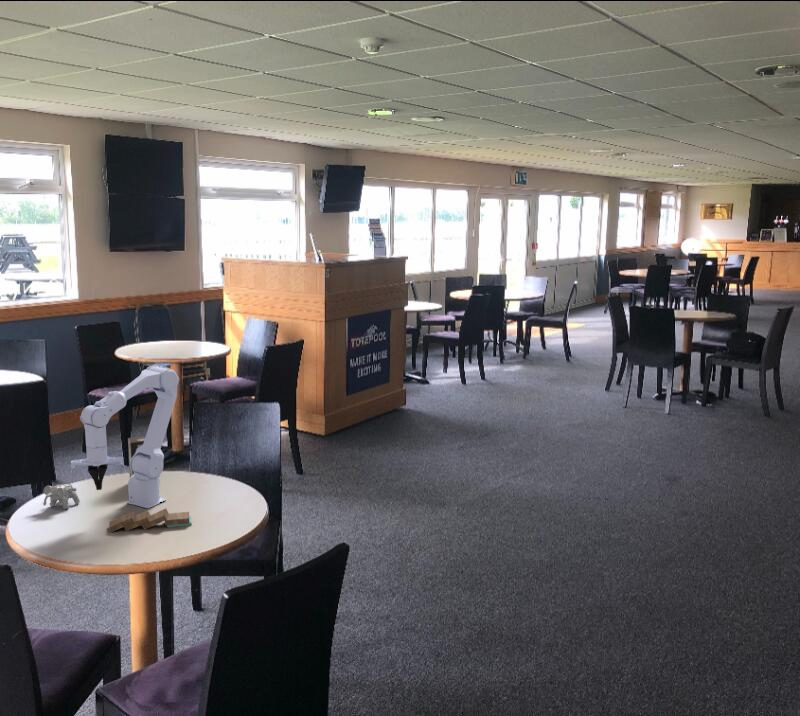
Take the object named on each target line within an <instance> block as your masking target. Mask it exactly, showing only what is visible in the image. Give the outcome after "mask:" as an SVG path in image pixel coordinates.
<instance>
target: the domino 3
mask: <svg viewBox="0 0 800 716" xmlns="http://www.w3.org/2000/svg"><path fill="white" fill-rule="evenodd" d="M168 514H169V511H168V509H167V508H163V509H161V510H159V511H157V512H155V513H153V514H150V519H149V522H147V523H145V524H142V525H141V526H142V528H143V529H144V530H147V529H149V528H152V527H154V526H156V525H158V524H161V523H163V522H165V520H167V516H168Z"/></svg>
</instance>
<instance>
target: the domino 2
mask: <svg viewBox="0 0 800 716" xmlns="http://www.w3.org/2000/svg"><path fill="white" fill-rule="evenodd" d="M150 515H151V514H150V512H149V510H145V511H144V512H143V511H142V512H141V513H138V514H136V515H135V519H134V522H133V523H131V524H129V525H126V526H124V527H123V528H124V530H125V532H128V531H130V530H133V529H134V528H138V527H140V526H142V524H145V523H147V522H149V519H150Z"/></svg>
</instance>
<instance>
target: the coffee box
mask: <svg viewBox="0 0 800 716" xmlns="http://www.w3.org/2000/svg"><path fill="white" fill-rule="evenodd" d="M145 437H146V435H145V436H135V437H128V438H127V442H128V466H129V467H128V468H129V469H128V470H129V471H128V472H129V478H130V477H131V476H132V475H134V472H133V471H132V470H131V469H130V460H131V458H132V457H133V456H134V454H135V452H136V449H137V448H139V447H140V446H142V445H143V444H144V441H145ZM148 456H150V455H148ZM150 457H151V456H150ZM160 482H161V481H159V485H160Z"/></svg>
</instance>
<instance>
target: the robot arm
mask: <svg viewBox="0 0 800 716" xmlns="http://www.w3.org/2000/svg"><path fill="white" fill-rule="evenodd" d="M179 382H180V377H179V375H178V374H177V372H176V371H175V370H174V369H172V368H164V367H158V366H156V365H150V366H148V367H147V368H146V369H143V370H142V371H141V373H140V374H139V376H137V377H136V378H135V379H133V380H132V381H131V382H129V384H127V385H126V386H124V387H123V389H121V390H119V391H117V390H113V391H112V390H111V391H109V392H107V395H105V396H104V397H103V398H102V399H99V401H98V400H97V401H95V403H94V405H92V404H91V405H87V406H86V407H84V408H83V410H82V411H81V414H80V416H79V419H80V421H81V423H82V424H83V426H84V427H83V428H84V435H85V446H86V448H85V449H86V458H82V459H75V460H73V459H72V460H71V462H70V469H73V470H74V469H76V468H77V469H78V468H87V472H88V474H89V475H90V477H91V479H92V480H93V482H94V485H95V490H96V491H102V489H103V482H104V477H105V474H106V472H107V469H108V466H116V465H119V466H123V465H124V463H125V462H124V456H108V443H107V429H106V428H107V424H108V423H109V421H110V419H111V417H113V415H115V414H116V413H118V412H119V411H120V410H122V409H124V408H125V407H126V405H127V401H128V400H130V399H131V398H133V397H134V396H136V395H138V394H140V393H141V392H143V391H145V390H147V388H149V389H152V390H153V391H154V393H155V394H156V397H157V400H156V403H155V407H154V409H153V413H152V415H151V419H150V423H149V425H148V428H147V431H146V435H145V436H146V437H145V441H144V444H143V445H142V446H140V447H139V448H137V449H136V452H135V454H134V456H133V457H132V458H131V460H130V469H131V470H132V471H133V472H134V475H132V476H131V477H130V476H129V480H128V482H127V488H128V489H127V490H128V500H127V501H126V504H130V505H133V506H137V507H142V508H145V509H151V508H152V507H155V506H157V505H160V504H161V503H160V502H162V503H164V502H166V501H167V499H166V498H164V497H161V493H160V492H161V491H160V484H159V482H160V477H161V475H162V473H163V471H164V459H165V455H164V453H163V451H162V449H161V448H162V445H163V442H164V439H165V436H166V433H167V430H168V426H169V423H170V420H171V416H172V414H173V410H174V406H175V403H176V401H177V397H178V385H179ZM148 455H150V456H151V457H150V456H148ZM165 500H166V501H165ZM163 501H164V502H163Z"/></svg>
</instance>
